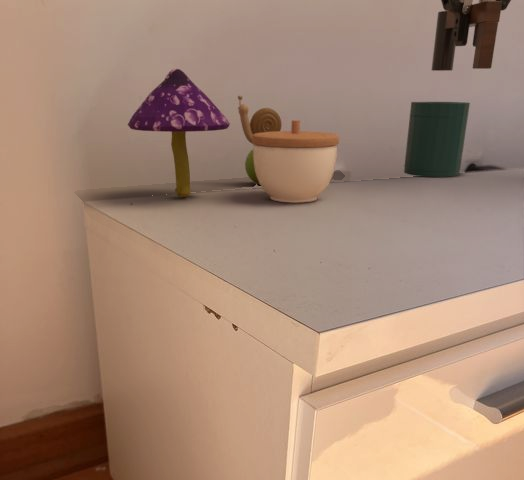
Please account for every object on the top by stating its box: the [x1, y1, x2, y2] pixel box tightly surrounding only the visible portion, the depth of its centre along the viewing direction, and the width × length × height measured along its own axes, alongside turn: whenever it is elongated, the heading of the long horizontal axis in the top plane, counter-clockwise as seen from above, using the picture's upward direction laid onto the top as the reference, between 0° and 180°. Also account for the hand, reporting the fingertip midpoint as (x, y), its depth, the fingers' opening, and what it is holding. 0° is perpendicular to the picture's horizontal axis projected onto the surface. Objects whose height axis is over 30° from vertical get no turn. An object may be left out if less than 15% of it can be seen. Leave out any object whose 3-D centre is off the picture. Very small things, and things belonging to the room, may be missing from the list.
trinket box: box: [251, 119, 340, 204], centre depth 72 cm, size 11×11×9 cm
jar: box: [403, 101, 471, 178], centre depth 94 cm, size 9×9×11 cm
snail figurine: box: [237, 94, 283, 185], centre depth 81 cm, size 5×6×12 cm
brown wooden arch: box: [431, 1, 502, 72], centre depth 83 cm, size 14×3×8 cm, turn 11°
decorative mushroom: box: [127, 68, 231, 199], centre depth 70 cm, size 12×12×15 cm
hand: (469, 45), depth 82 cm, fingers closed on brown wooden arch, 2 cm apart
